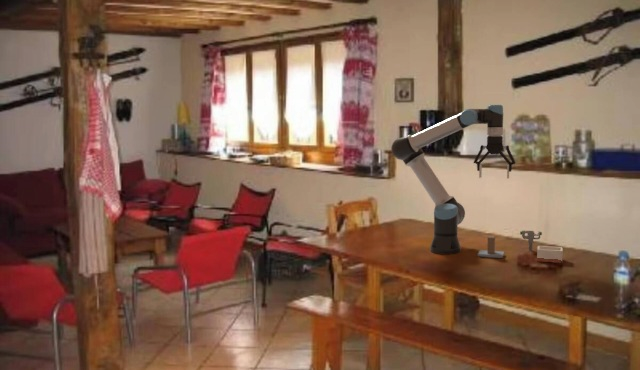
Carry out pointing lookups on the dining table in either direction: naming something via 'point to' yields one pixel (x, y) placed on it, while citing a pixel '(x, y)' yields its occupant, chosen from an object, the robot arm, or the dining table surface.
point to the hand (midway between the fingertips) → (494, 177)
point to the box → (549, 252)
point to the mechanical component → (530, 237)
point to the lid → (491, 250)
